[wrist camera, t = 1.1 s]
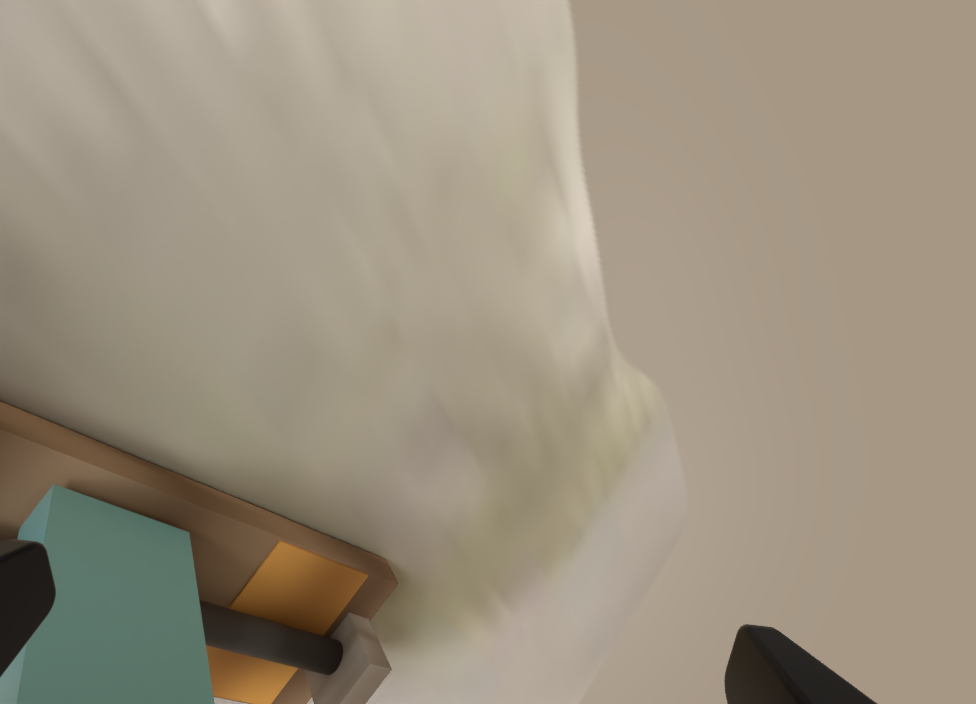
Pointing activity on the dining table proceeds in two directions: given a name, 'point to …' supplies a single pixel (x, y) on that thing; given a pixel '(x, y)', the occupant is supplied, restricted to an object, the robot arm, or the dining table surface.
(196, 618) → the teal rectangular block
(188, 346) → the dining table surface
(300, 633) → the cord board
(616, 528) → the dining table surface
